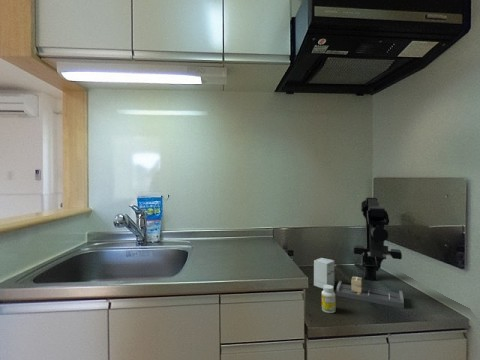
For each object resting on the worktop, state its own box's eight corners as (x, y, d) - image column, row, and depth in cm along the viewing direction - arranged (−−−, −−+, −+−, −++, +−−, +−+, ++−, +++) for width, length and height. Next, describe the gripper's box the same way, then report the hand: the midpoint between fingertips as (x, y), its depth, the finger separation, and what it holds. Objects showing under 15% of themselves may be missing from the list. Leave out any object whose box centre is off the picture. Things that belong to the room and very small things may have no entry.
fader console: (339, 287, 129) (339, 280, 129) (401, 298, 116) (401, 290, 116) (336, 295, 120) (336, 288, 120) (403, 308, 108) (403, 299, 108)
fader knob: (352, 286, 124) (352, 275, 124) (361, 288, 122) (361, 277, 122) (351, 291, 119) (351, 279, 119) (361, 292, 117) (361, 281, 117)
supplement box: (327, 290, 126) (326, 263, 126) (313, 285, 131) (313, 260, 131) (335, 285, 131) (334, 260, 131) (321, 281, 136) (321, 257, 136)
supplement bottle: (335, 314, 103) (334, 290, 103) (320, 312, 106) (320, 288, 105) (335, 308, 108) (335, 284, 108) (322, 305, 111) (322, 283, 110)
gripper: (352, 237, 115) (352, 273, 115) (402, 242, 106) (402, 281, 106) (354, 232, 125) (354, 265, 125) (400, 236, 116) (400, 272, 116)
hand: (376, 270), depth 118 cm, fingers closed
